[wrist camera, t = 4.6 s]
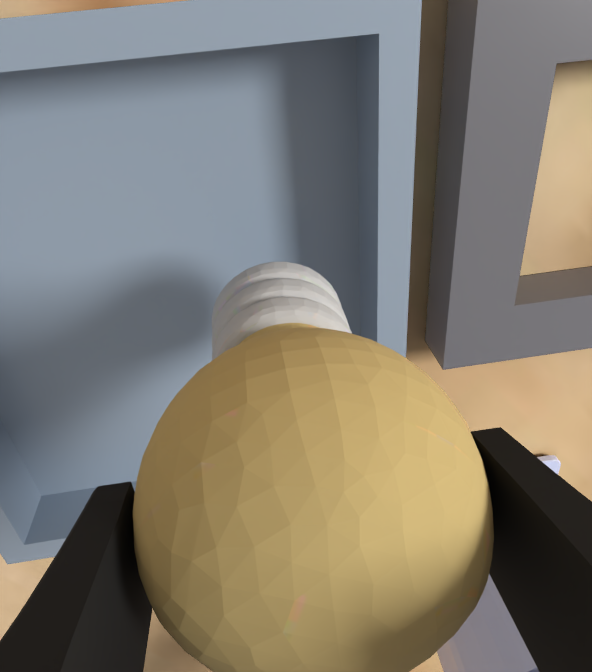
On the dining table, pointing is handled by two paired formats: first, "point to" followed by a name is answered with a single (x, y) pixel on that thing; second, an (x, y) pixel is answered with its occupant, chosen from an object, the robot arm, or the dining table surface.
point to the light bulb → (309, 494)
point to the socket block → (500, 185)
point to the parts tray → (180, 212)
